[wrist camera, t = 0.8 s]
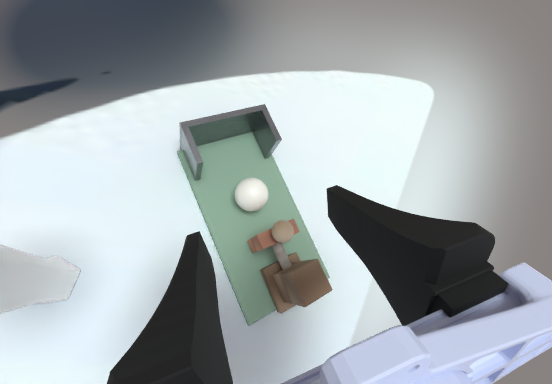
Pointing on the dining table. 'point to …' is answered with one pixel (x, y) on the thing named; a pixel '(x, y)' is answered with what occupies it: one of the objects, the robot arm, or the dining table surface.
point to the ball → (251, 194)
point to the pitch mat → (246, 217)
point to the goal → (227, 133)
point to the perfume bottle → (33, 279)
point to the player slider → (289, 269)
